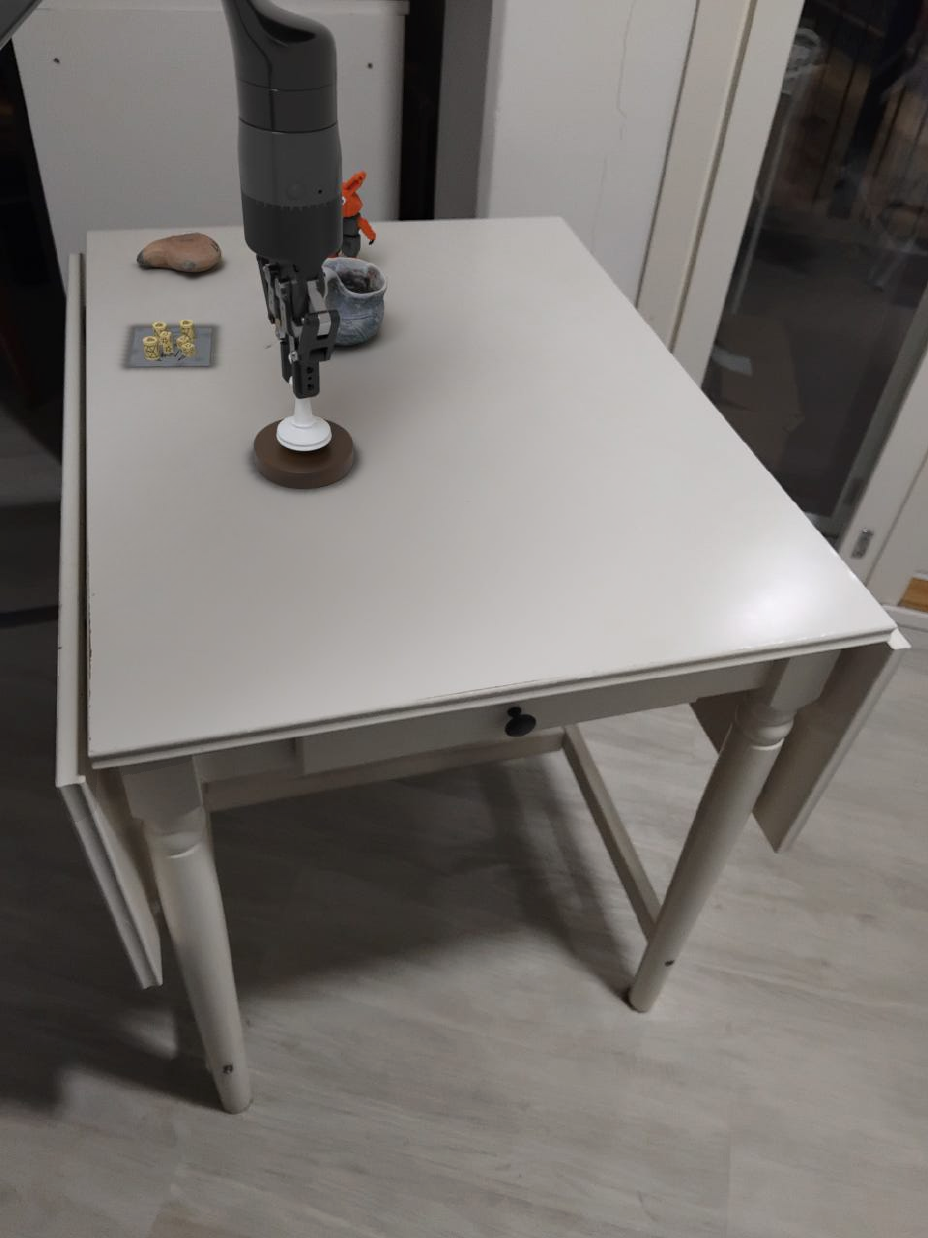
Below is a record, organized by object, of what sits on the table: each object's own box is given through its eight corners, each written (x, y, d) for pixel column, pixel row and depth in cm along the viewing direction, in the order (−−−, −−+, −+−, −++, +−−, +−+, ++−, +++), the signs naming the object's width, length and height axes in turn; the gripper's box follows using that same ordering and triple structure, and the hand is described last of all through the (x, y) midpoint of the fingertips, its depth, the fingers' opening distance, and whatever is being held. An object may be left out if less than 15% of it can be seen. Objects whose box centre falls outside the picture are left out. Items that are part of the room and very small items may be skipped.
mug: (394, 323, 108) (397, 236, 101) (369, 379, 99) (370, 287, 92) (312, 310, 108) (309, 223, 101) (279, 365, 99) (273, 273, 92)
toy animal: (302, 282, 113) (297, 178, 105) (313, 263, 117) (309, 161, 109) (368, 291, 113) (368, 187, 104) (376, 271, 117) (378, 170, 108)
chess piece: (328, 453, 84) (325, 351, 77) (272, 448, 84) (265, 346, 77) (334, 422, 88) (332, 322, 81) (281, 418, 88) (274, 317, 81)
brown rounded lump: (178, 252, 118) (133, 276, 113) (170, 219, 115) (123, 242, 110) (234, 263, 114) (190, 287, 109) (227, 229, 112) (182, 253, 107)
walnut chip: (273, 497, 83) (272, 481, 82) (242, 443, 89) (240, 426, 88) (368, 476, 87) (368, 460, 86) (332, 424, 92) (331, 408, 91)
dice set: (144, 360, 98) (141, 343, 97) (148, 335, 101) (146, 319, 100) (195, 360, 99) (192, 343, 97) (197, 335, 102) (195, 319, 101)
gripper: (374, 212, 67) (371, 421, 80) (306, 145, 76) (313, 343, 88) (273, 224, 65) (286, 438, 77) (214, 153, 73) (234, 356, 85)
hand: (300, 386), depth 82 cm, fingers closed on chess piece
